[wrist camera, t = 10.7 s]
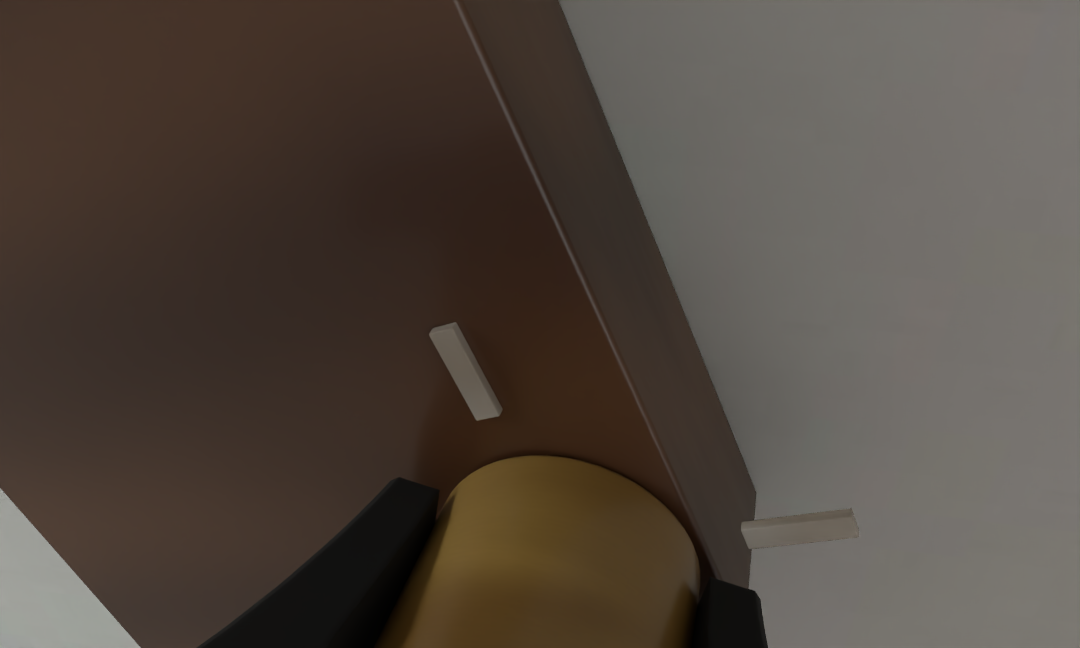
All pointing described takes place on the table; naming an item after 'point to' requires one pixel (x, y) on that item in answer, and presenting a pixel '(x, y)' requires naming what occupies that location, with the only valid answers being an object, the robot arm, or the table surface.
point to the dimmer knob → (549, 564)
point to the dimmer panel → (324, 289)
